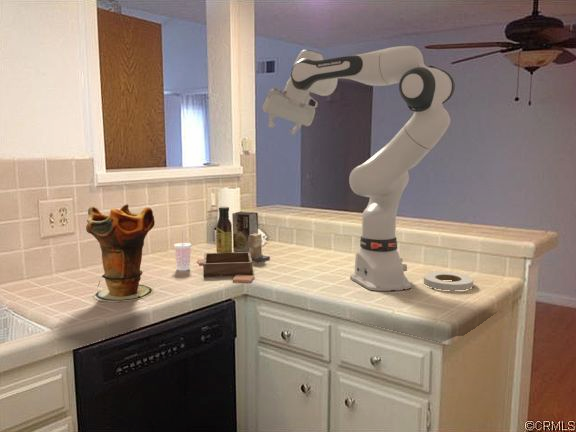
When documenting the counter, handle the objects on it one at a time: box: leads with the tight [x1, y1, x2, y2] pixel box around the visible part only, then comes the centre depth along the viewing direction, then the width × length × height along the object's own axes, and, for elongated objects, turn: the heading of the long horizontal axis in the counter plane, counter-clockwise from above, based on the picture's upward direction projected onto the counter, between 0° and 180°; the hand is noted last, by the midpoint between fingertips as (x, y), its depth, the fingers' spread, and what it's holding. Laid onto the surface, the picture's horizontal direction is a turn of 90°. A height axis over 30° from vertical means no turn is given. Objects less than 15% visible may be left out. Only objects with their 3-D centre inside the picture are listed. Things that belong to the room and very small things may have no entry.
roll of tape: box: [423, 271, 474, 291], centre depth 167 cm, size 16×15×3 cm
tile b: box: [232, 275, 255, 284], centre depth 173 cm, size 6×6×1 cm
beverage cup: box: [173, 230, 192, 271], centre depth 187 cm, size 6×6×14 cm
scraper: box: [249, 233, 271, 263], centre depth 202 cm, size 9×6×10 cm
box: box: [202, 251, 254, 278], centre depth 186 cm, size 17×17×4 cm
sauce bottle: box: [215, 206, 233, 253], centre depth 207 cm, size 6×6×20 cm
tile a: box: [196, 258, 204, 266], centre depth 197 cm, size 6×6×1 cm
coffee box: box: [231, 211, 259, 252], centre depth 218 cm, size 9×6×16 cm
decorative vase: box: [85, 203, 155, 303], centre depth 157 cm, size 21×23×28 cm
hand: (281, 130), depth 190 cm, fingers open, 8 cm apart
